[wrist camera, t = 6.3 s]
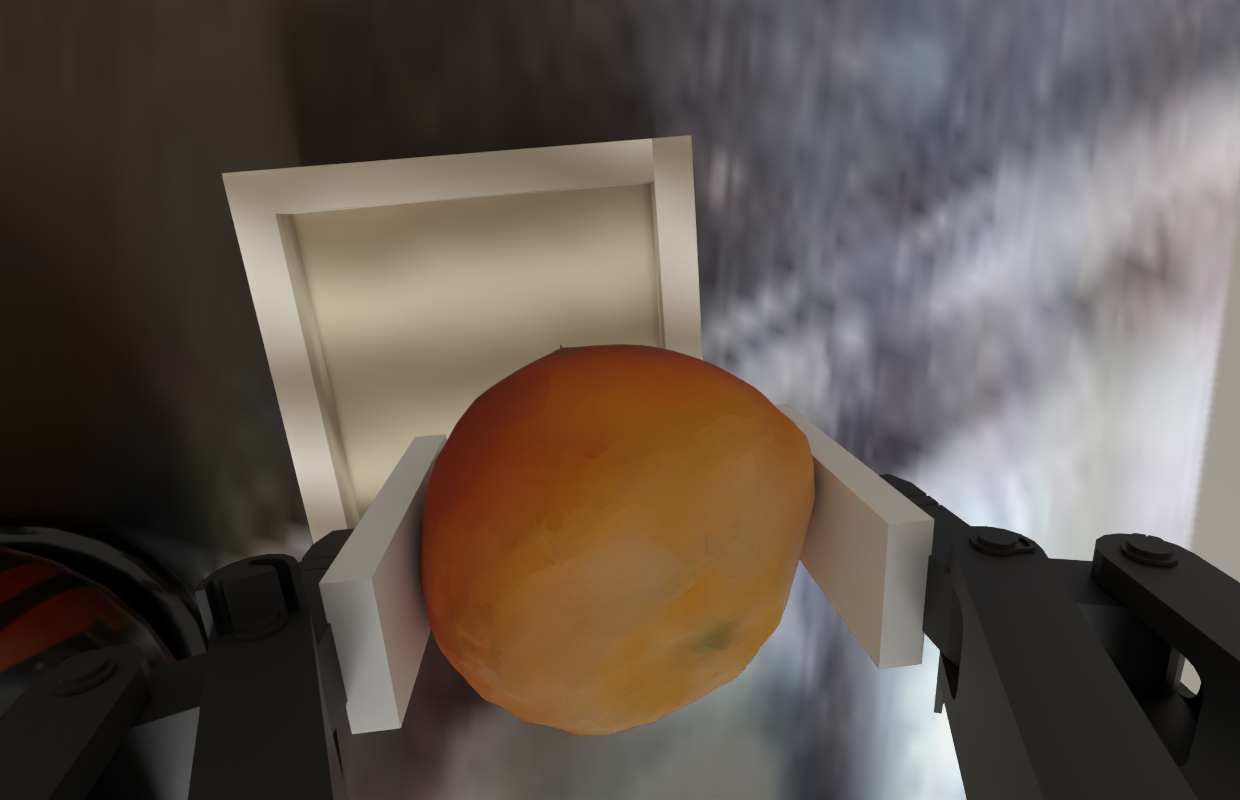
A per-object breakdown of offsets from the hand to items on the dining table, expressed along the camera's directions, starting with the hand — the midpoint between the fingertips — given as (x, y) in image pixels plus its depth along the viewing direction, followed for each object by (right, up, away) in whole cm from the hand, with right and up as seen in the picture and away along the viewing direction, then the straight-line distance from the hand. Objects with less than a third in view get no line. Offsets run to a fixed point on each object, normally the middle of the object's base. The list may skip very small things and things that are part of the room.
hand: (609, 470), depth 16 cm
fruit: (0, 0, +1) cm, 1 cm away
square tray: (-5, +5, +16) cm, 18 cm away
